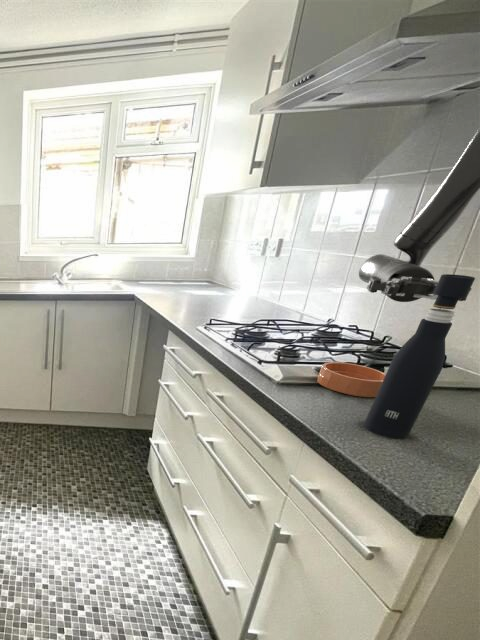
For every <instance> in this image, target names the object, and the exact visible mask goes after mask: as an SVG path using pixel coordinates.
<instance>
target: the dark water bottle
mask: <svg viewBox="0 0 480 640" xmlns="http://www.w3.org/2000/svg"><path fill="white" fill-rule="evenodd" d="M439 277H440V278H439V280H438V281H439V282H438V284H437V286H436V288H435V291H434V293H433V294H435V295H438V297H437V299H435V301H434V303H433V304H432V306H433V307H434V308H429V309H428V310H427V311H426V313H427V314H425V315H424V318H421V320H420V322H419V324H418V326H417V329H416V331H415V332H414V334H413V335H412V336H411V337H410V338H409V339H408V340H407V341H405V343H404V344H402V346H401V347H400V348H399V350H398V351H397V352H396V354H395V355H394V356H393V358H392V360H391V361H390V364H389V367H388V369H387V370H386V373H385V374H386V375H385V377H384V380H383V382H382V384H381V386H380V389H379V391H378V393H377V395H376V397H374V400H373V402H372V404H371V407H370V409H369V410H368V412H367V416H366V418H365V420H364V422H363V428H365V429H366V430H368V432H371V433H374V434H376V435H379V436H382V437H385V438H388V439H389V438H390V439H395V440H405V439H407V438H408V437H409V436H410V433H411V431H412V430H413V428H414V425H415V423H416V422H417V419H418V417H419V415H420V413H421V411H422V409H423V408H424V405H425V404H426V402H427V400H428V397H429V395H430V393H431V391H432V389H433V388H434V386H435V384H436V382H437V379H438V378H439V376H440V374H441V372H442V370H443V366H444V363H445V356H446V338H447V337H448V334H449V331H450V329H451V327H452V326H453V323H452V322H451V321H453V317H455V311H453V310H454V309H456V307H457V306H456V305H457V304H458V302H459V301H458V300H459V298H465V297H466V296H467V294H468V292H469V290H470V288H472V287H473V283H474V282H475V280H476V277H475V276H470V275H462V274H449V273H448V274H447V273H444V274H441V275H440V276H439ZM469 293H470V292H469ZM433 294H432V295H433ZM468 295H469V294H468ZM467 297H468V296H467Z"/></svg>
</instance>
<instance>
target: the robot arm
mask: <svg viewBox="0 0 480 640" xmlns="http://www.w3.org/2000/svg"><path fill="white" fill-rule="evenodd" d="M479 191H480V127H478V129H477V130H476V132H475V133H474V135H472V137H471V139H470V141H469V142H468V144H467V145H466V147H465V149H464V150H463V152H462V154H461V155H460V157H459V158H458V159H457V162H456V163H455V164H454V166H453V167H452V168H451V170H450V172H449V173H448V174H447V176H446V177H445V178H444V180H443V181H442V183H441V184H440V185H439V186H438V188H437V189H436V190H435V191H434V193H433V194H432V195H431V196H430V198H428V200H427V201H426V202H425V203H424V204H423V206H422V207H421V208H420V209H419V211H418V212H416V214H415V215H414V216H413V217H412V218H411V220H410V221H409V222H408V223H407V224H406V225H405V226H404V228H403V229H402V230H401V231H400V232H399V234H398V235H397V236H396V237H395V239H394V240H393V246H394V247H395V248H396V249H397V250H399V251H401V252H403V253H405V254H406V255H408V259H406V260H403V259H400V258H396V257H393V256H390V255H387V254H379V253H378V254H375V255H372V256H370V257H369V258H367V259H365V261H364V262H363V263H362V264H361V265H360V267H359V269H358V278H359V279H360V281H362V282H363V283H367V286H366V289H367V291H368V292H370V293H372V294H374V293H377V292H378V291H380V294H382V295H385V296H387V297H388V298H389V299H391V300H392V301H395V302H398V303H399V302H400V303H409V302H410V303H411V302H415V301H418V300H420V299H429V300H433V301H434V300H436V299H437V297H438V295H435V294H433V293H434V291H435V288H436V286H437V284H438V282H439V280H436V279H435V276H434V274H433V273H432V272H431V271H430V270H429V269H427V268H425V267H422V264H423V262H424V260H425V259H426V258H427V256H428V254H430V251H431V250H432V249H433V248H434V247H435V246H436V244H437V243H439V241H441V240H442V238H443V237H444V236H445V235H446V234H447V233H448V231H450V230H451V229H452V228H453V226H454V225H455V224H456V223H457V221H459V219H460V218H461V216H462V215H463V213H464V212H465V210H466V209H467V207H468V206H469V205H470V203H471V201H472V200H473V198H474V197H475V195H476V194H477V193H478V192H479ZM472 290H473V288H472V287H471V288H470V290H469V292H468V294H467V296H466V297H465V298H459V300H458V302H466V300H467V298H468V296H469V294H470V292H471V291H472Z"/></svg>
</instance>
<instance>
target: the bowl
mask: <svg viewBox="0 0 480 640" xmlns="http://www.w3.org/2000/svg"><path fill="white" fill-rule="evenodd" d="M320 367H321V368H320V371H319V373H318V376H317V378H316V381H317V383H318V384H319V385H320V386H322V387H324V388H327V389H329V390H331V391H333V392H337V393H341V394H345V395H349V396H353V397H362V398H376V395H377V393H378V391H379V389H380V386H381V384H382V382H383V380H384V377H385V375H386V373H385V372H383V371H380V370H378V369H376V368H372V367H369V366H365V365H364V366H363V365H360V364H355V363H349V362H341V361H340V362H339V361H330V362H324V363H322V364H321V366H320Z"/></svg>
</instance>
